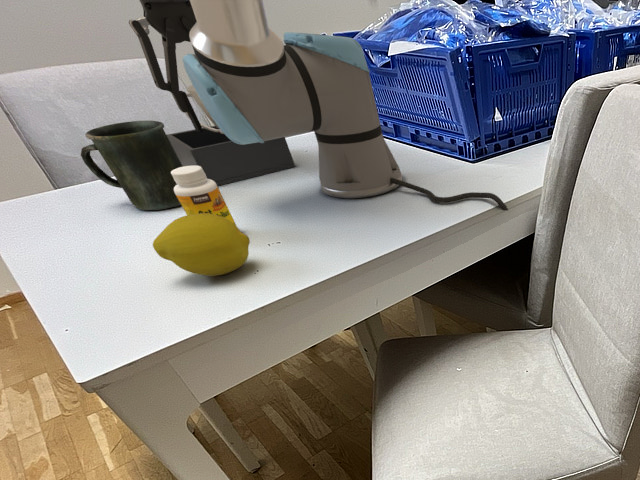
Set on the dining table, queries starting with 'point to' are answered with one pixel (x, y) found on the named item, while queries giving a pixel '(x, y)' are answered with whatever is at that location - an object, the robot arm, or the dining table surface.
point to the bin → (230, 155)
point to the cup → (196, 97)
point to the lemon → (203, 244)
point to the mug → (136, 162)
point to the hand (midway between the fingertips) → (221, 126)
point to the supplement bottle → (199, 192)
